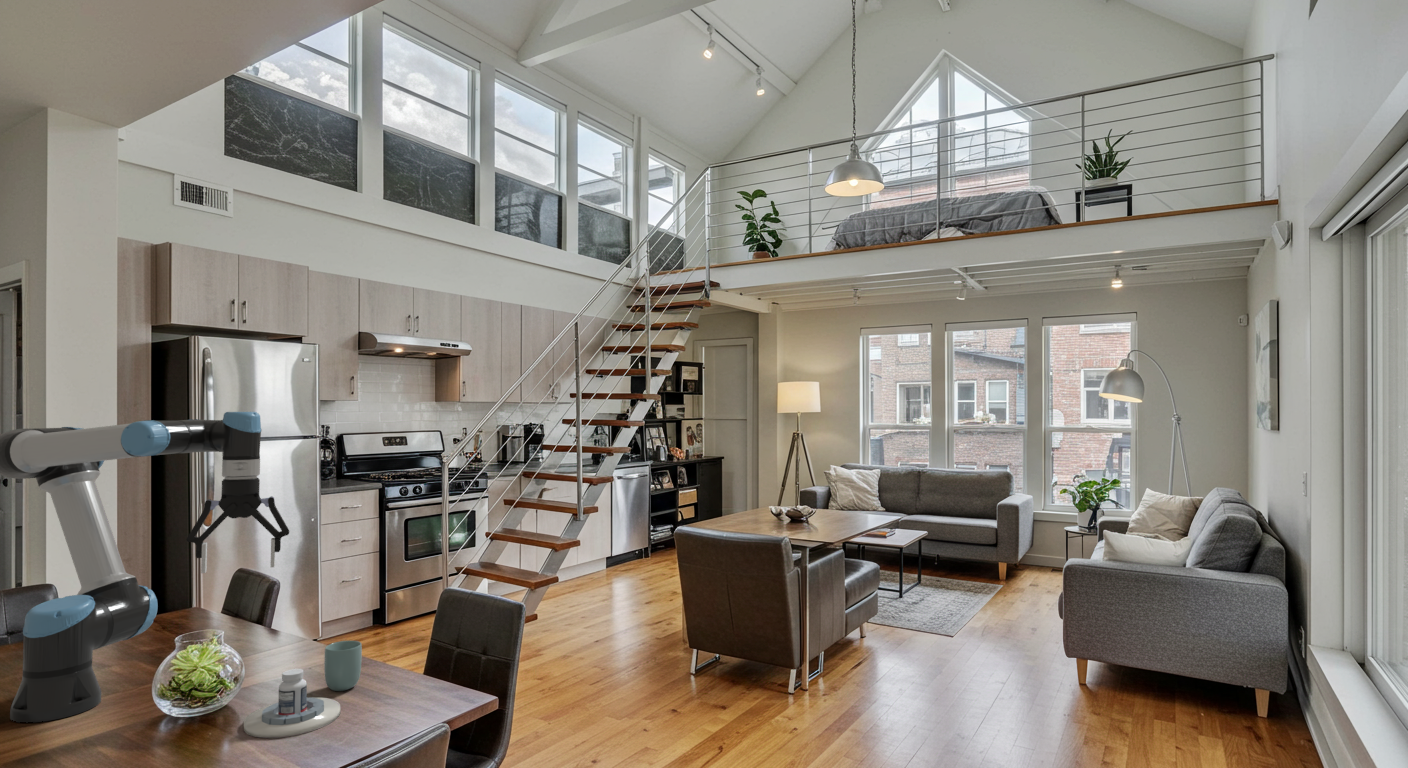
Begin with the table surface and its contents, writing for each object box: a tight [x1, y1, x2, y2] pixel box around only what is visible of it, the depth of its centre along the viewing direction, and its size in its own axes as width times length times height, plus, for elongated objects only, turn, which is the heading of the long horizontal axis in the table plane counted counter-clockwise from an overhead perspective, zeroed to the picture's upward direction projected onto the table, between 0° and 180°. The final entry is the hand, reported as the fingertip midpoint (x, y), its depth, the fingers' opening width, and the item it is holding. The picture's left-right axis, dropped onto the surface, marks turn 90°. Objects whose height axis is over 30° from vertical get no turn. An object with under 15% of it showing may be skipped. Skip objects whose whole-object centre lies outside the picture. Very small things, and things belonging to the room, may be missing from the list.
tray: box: [243, 696, 341, 739], centre depth 159 cm, size 18×18×2 cm
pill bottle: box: [278, 668, 308, 715], centre depth 159 cm, size 5×5×9 cm
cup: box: [323, 640, 363, 692], centre depth 177 cm, size 8×8×10 cm
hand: (238, 569), depth 174 cm, fingers open, 13 cm apart
